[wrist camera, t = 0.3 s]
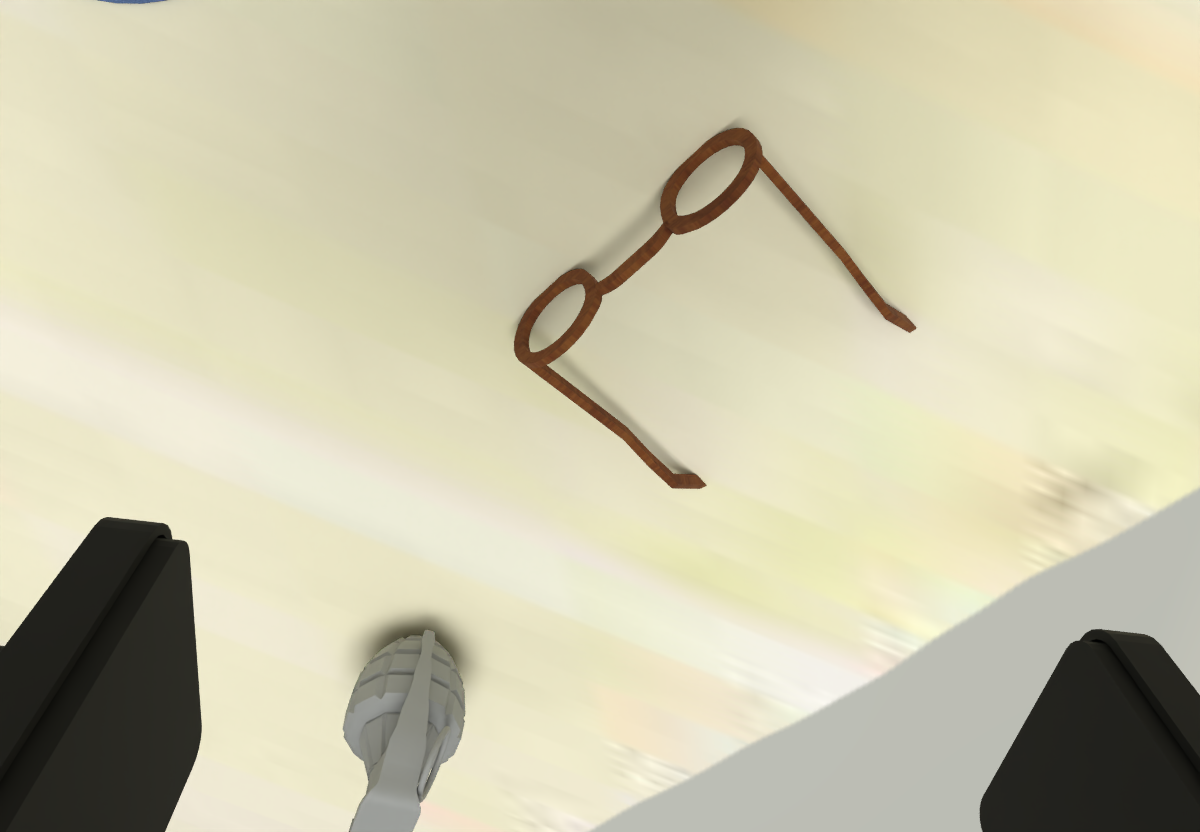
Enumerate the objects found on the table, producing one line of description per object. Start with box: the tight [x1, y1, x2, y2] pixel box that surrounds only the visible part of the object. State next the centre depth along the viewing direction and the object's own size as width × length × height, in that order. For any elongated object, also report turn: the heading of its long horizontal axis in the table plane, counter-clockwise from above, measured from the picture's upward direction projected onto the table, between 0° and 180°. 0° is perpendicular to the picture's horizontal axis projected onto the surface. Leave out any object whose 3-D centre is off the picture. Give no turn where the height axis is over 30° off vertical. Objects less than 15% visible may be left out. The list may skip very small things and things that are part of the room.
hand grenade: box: [343, 630, 465, 832], centre depth 46 cm, size 6×6×11 cm
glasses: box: [514, 128, 916, 489], centre depth 40 cm, size 13×13×5 cm
